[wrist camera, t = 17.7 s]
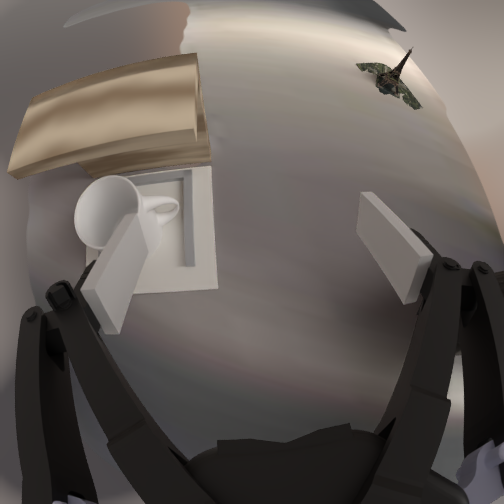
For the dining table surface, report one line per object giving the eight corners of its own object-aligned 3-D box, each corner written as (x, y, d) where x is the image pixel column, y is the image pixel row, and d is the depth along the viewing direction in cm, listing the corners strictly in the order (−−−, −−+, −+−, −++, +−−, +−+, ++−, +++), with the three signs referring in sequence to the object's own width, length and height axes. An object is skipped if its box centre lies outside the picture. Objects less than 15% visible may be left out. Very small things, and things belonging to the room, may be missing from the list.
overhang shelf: (213, 210, 39) (193, 128, 20) (89, 224, 38) (6, 172, 18) (210, 150, 41) (196, 52, 21) (95, 167, 40) (32, 97, 20)
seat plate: (218, 288, 37) (217, 288, 36) (88, 295, 36) (83, 295, 35) (211, 167, 40) (210, 162, 39) (92, 183, 39) (88, 180, 38)
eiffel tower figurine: (422, 110, 47) (452, 75, 34) (394, 115, 45) (425, 75, 32) (384, 63, 49) (405, 26, 36) (353, 65, 48) (374, 22, 34)
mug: (194, 245, 38) (178, 223, 27) (116, 271, 36) (79, 259, 26) (179, 190, 39) (161, 153, 29) (106, 216, 38) (71, 190, 27)
